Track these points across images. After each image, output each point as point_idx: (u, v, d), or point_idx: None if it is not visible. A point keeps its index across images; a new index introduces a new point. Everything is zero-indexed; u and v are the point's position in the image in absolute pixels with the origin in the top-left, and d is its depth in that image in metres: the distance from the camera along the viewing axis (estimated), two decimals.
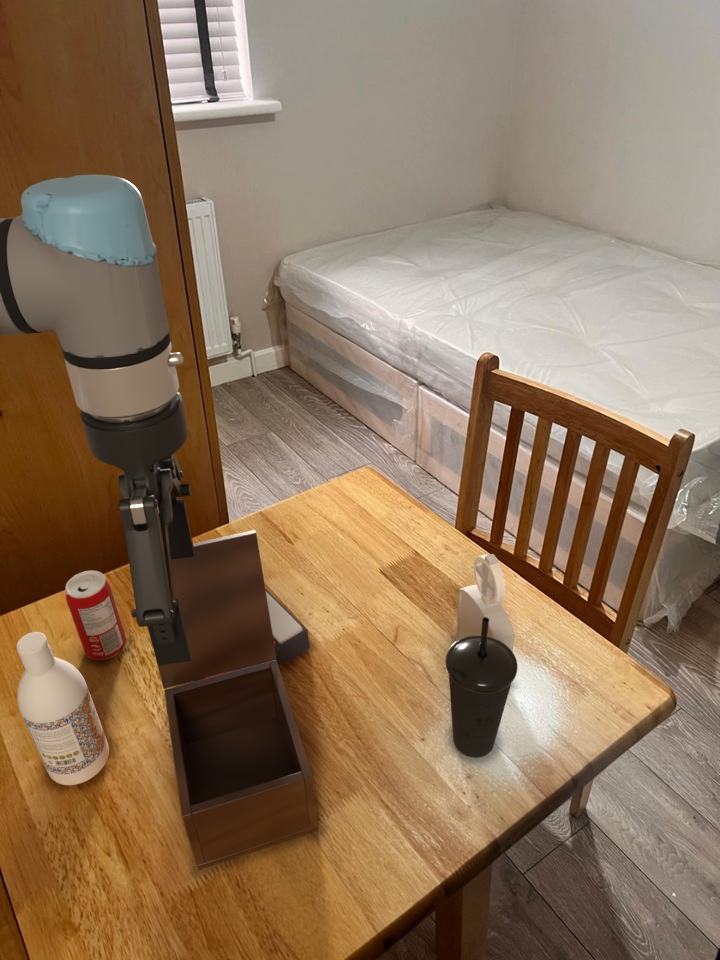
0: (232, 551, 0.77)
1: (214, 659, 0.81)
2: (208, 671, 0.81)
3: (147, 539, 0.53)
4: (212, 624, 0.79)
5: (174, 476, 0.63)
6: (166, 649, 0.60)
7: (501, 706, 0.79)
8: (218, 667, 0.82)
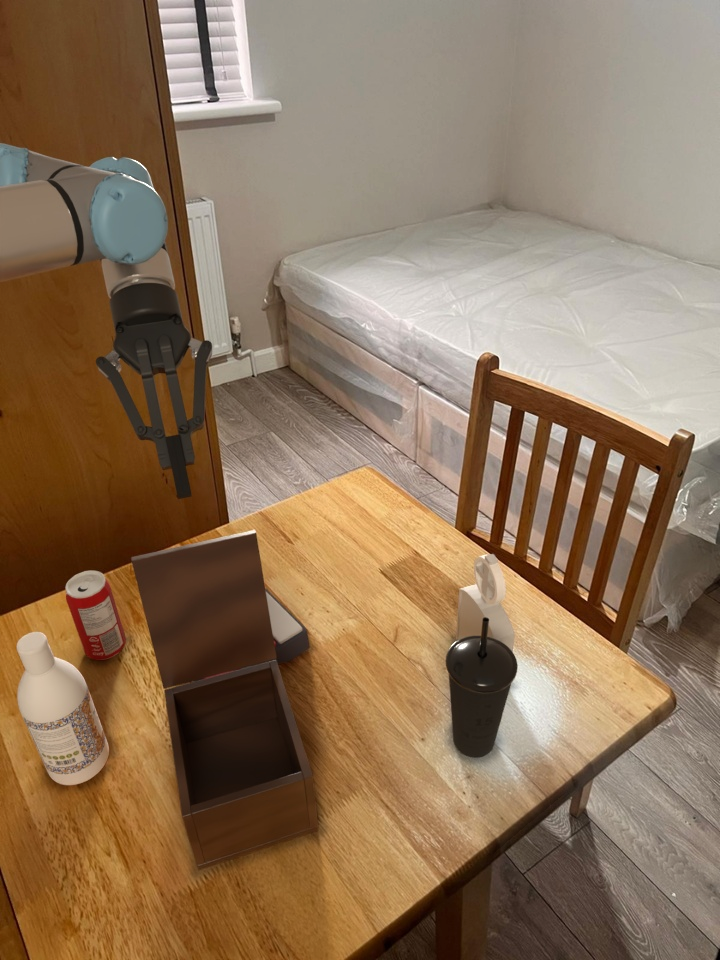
0: (232, 551, 0.77)
1: (214, 659, 0.81)
2: (208, 671, 0.81)
3: None
4: (212, 624, 0.79)
5: (164, 368, 0.80)
6: None
7: (501, 706, 0.79)
8: (218, 667, 0.82)
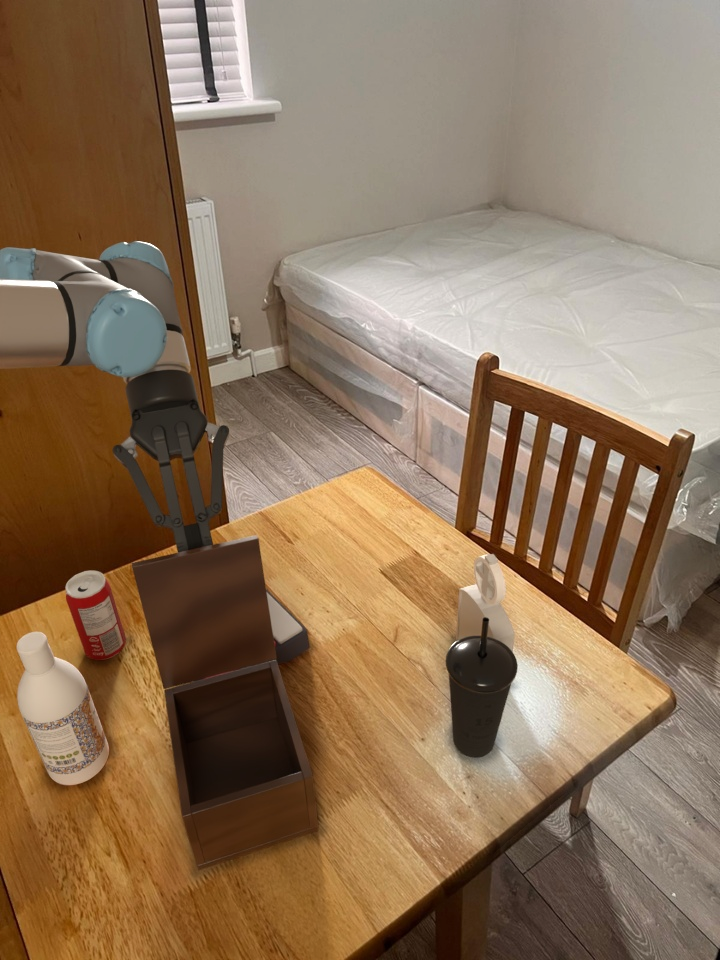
0: (234, 556, 0.76)
1: (214, 660, 0.81)
2: (208, 672, 0.81)
3: None
4: (213, 627, 0.79)
5: (182, 455, 0.79)
6: None
7: (501, 706, 0.79)
8: (218, 668, 0.82)
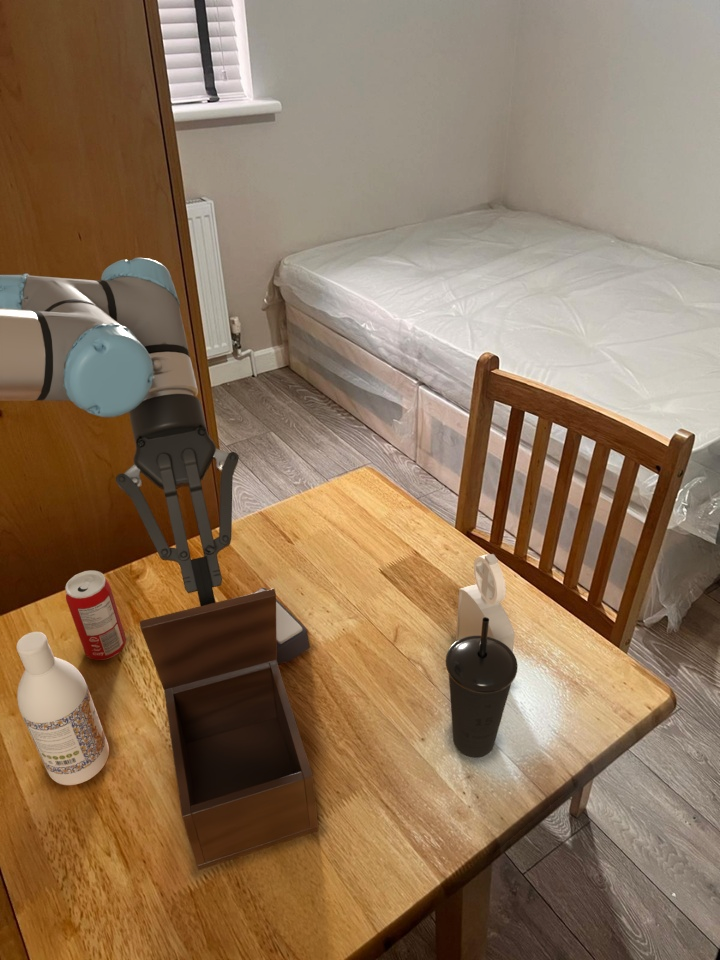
0: (248, 609, 0.71)
1: (216, 668, 0.80)
2: (209, 675, 0.81)
3: None
4: (218, 651, 0.77)
5: (189, 484, 0.75)
6: None
7: (501, 706, 0.79)
8: (219, 672, 0.81)
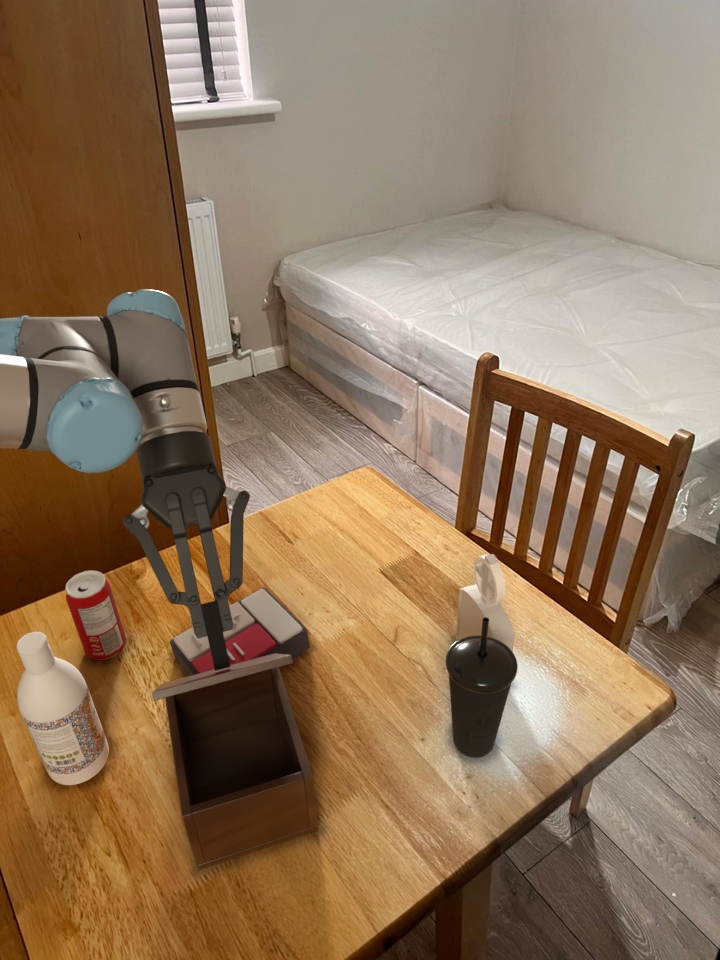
0: None
1: None
2: None
3: None
4: None
5: (198, 525, 0.72)
6: None
7: (501, 706, 0.79)
8: None
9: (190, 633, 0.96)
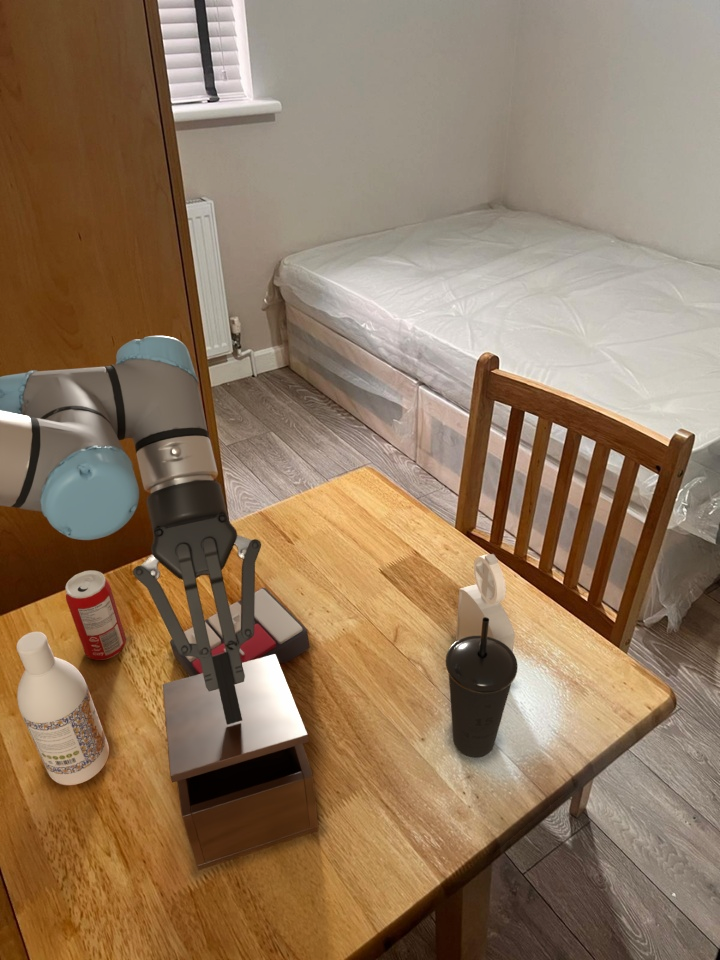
0: None
1: None
2: None
3: None
4: None
5: (209, 576, 0.71)
6: None
7: (501, 706, 0.79)
8: None
9: (190, 633, 0.96)
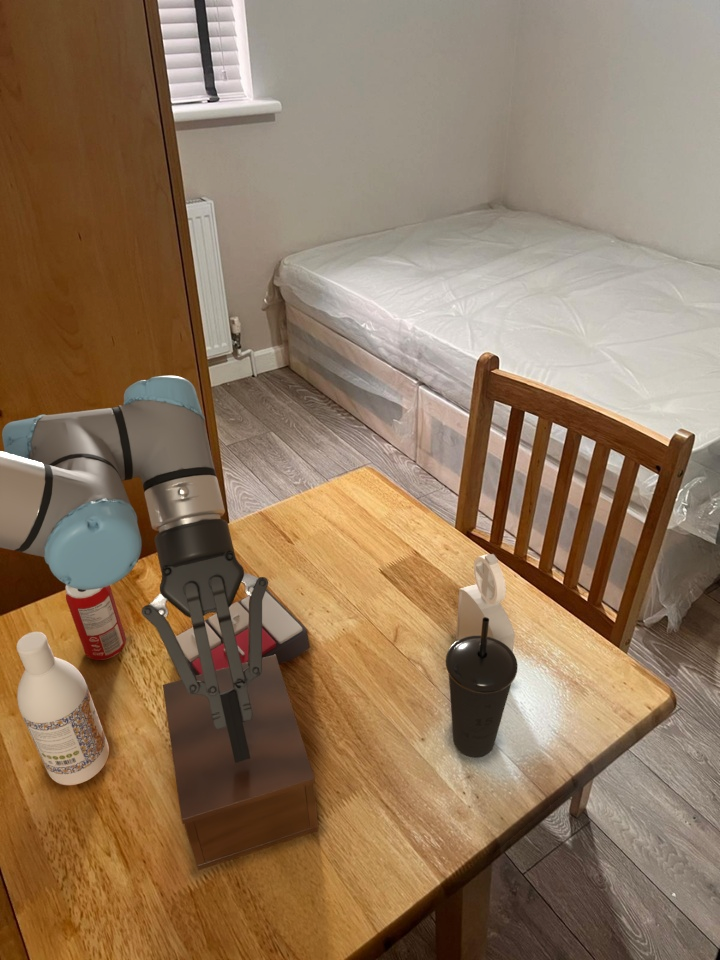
0: None
1: None
2: None
3: None
4: None
5: (217, 614, 0.72)
6: None
7: (501, 706, 0.79)
8: None
9: (190, 633, 0.96)
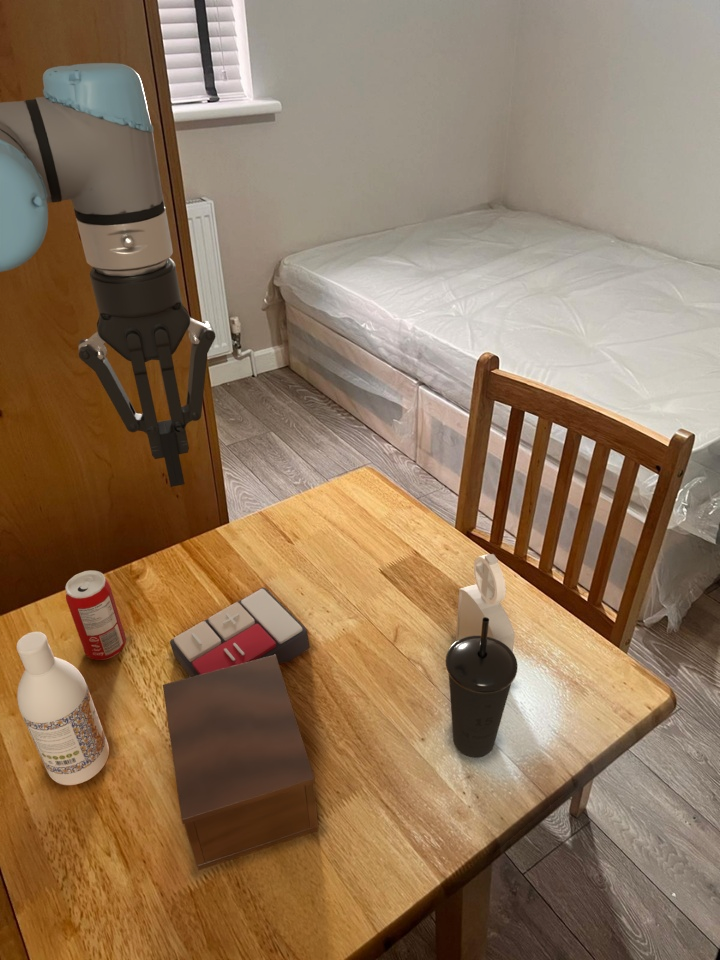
0: None
1: None
2: None
3: None
4: None
5: (160, 365, 0.70)
6: None
7: (501, 706, 0.79)
8: None
9: (190, 633, 0.96)
